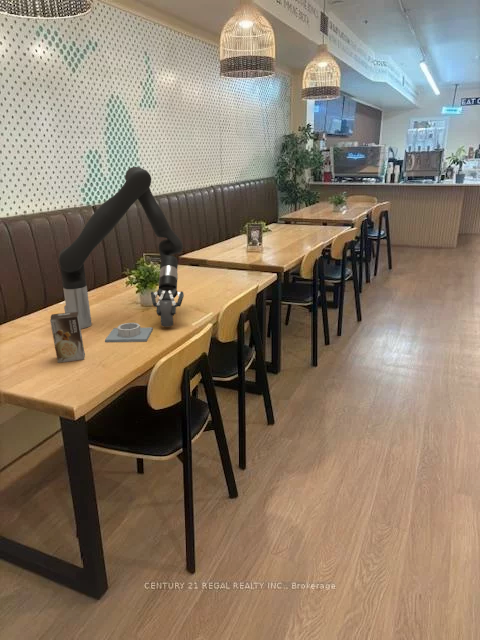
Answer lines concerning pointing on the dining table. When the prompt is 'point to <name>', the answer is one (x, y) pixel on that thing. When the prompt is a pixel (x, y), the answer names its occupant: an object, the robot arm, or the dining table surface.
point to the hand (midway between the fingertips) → (165, 314)
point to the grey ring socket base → (129, 333)
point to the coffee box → (67, 337)
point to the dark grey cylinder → (166, 313)
